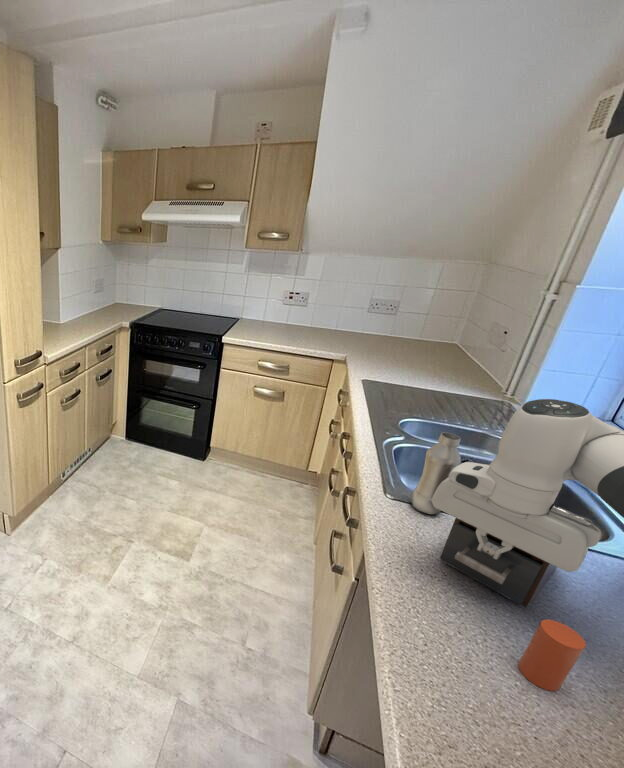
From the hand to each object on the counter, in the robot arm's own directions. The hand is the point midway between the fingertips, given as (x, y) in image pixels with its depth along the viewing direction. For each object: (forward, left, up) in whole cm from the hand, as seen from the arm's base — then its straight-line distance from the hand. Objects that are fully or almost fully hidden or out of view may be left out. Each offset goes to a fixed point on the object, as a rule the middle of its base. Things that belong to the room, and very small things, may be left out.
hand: (487, 553), depth 75 cm
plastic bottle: (+16, -19, -8) cm, 26 cm away
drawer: (0, -7, -7) cm, 10 cm away
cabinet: (0, -12, -8) cm, 14 cm away
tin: (-12, +11, -8) cm, 19 cm away
